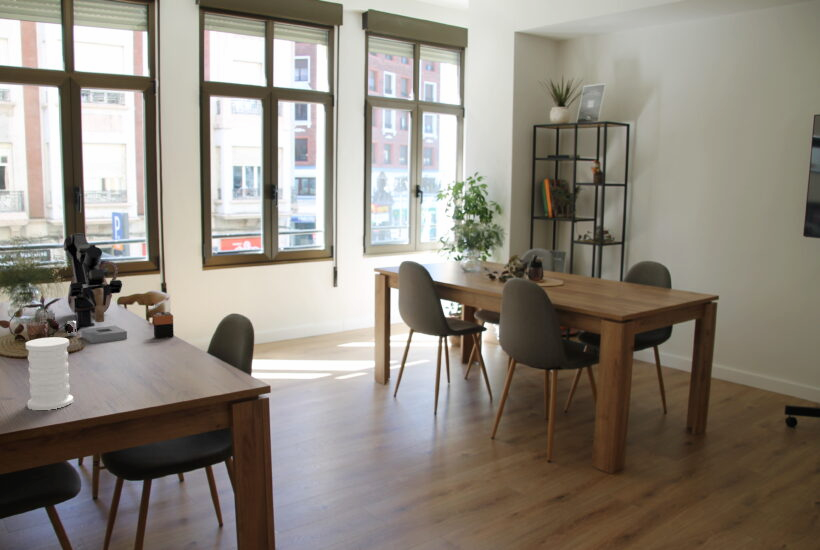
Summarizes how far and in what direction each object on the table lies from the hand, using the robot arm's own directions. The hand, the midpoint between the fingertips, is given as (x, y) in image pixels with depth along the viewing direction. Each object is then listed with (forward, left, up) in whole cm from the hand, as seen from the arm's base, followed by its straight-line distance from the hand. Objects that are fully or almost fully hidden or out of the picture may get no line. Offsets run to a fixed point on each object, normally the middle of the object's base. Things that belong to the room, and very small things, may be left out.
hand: (100, 305), depth 273 cm
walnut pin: (-1, 0, -7) cm, 7 cm away
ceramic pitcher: (-49, +13, -14) cm, 52 cm away
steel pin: (-12, -7, -13) cm, 19 cm away
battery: (+10, +21, -14) cm, 27 cm away
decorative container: (+70, -36, -14) cm, 80 cm away
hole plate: (-2, +2, -13) cm, 14 cm away
